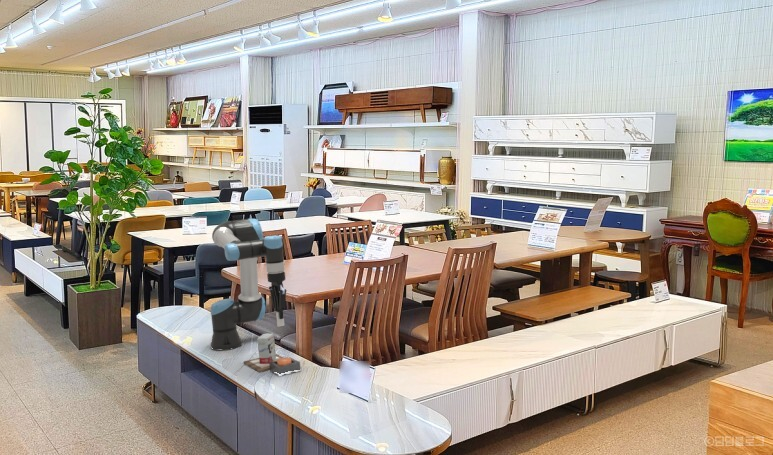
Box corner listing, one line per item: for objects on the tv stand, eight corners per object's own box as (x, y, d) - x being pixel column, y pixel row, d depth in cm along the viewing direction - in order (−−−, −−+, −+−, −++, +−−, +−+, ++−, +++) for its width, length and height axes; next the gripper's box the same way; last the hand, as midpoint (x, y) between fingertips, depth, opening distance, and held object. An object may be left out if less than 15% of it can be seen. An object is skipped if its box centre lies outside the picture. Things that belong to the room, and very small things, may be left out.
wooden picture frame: (243, 363, 313) (243, 361, 313) (275, 355, 322) (275, 353, 321) (259, 372, 298) (259, 369, 298) (292, 364, 307) (292, 361, 306)
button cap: (275, 368, 298) (274, 359, 297) (288, 365, 301) (287, 356, 301) (281, 371, 293) (280, 362, 292) (294, 368, 296) (293, 359, 296)
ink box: (269, 364, 305) (266, 338, 304) (259, 364, 306) (256, 338, 305) (276, 358, 313) (274, 333, 312) (266, 358, 315) (264, 333, 313)
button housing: (269, 371, 298) (269, 362, 298) (290, 366, 304) (289, 357, 303) (279, 376, 290) (278, 367, 290) (300, 371, 296) (299, 362, 295)
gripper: (290, 272, 289) (295, 326, 291) (277, 269, 300) (282, 321, 302) (274, 275, 285) (279, 330, 287) (261, 271, 296) (266, 324, 298)
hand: (280, 325), depth 295 cm, fingers closed
